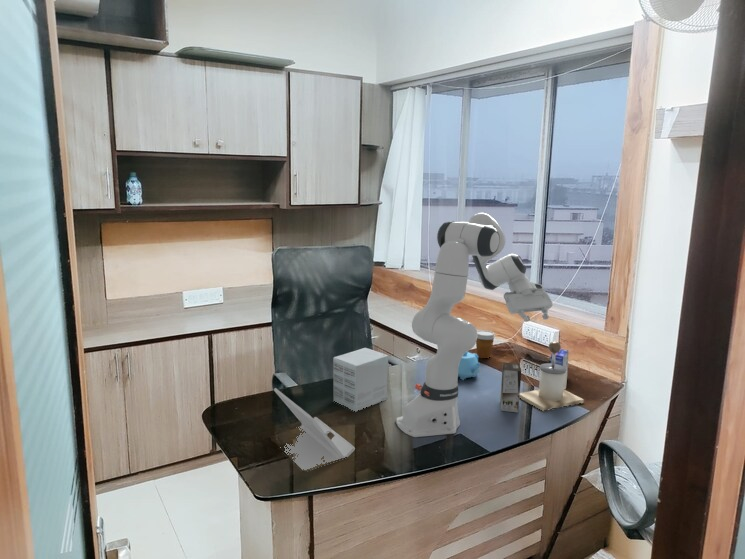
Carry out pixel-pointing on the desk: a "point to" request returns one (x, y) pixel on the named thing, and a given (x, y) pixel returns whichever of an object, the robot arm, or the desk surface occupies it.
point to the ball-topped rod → (554, 351)
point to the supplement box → (360, 378)
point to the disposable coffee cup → (484, 343)
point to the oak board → (544, 404)
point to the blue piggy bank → (468, 365)
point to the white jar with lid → (552, 382)
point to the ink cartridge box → (562, 358)
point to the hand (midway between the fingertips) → (537, 319)
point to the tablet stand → (314, 440)
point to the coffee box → (510, 387)
